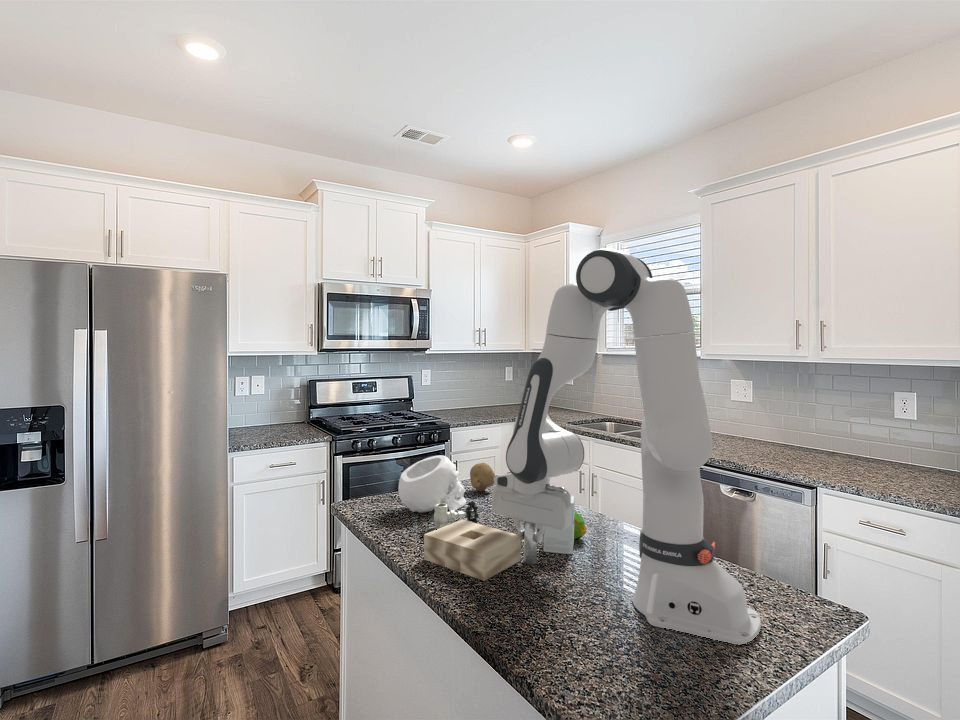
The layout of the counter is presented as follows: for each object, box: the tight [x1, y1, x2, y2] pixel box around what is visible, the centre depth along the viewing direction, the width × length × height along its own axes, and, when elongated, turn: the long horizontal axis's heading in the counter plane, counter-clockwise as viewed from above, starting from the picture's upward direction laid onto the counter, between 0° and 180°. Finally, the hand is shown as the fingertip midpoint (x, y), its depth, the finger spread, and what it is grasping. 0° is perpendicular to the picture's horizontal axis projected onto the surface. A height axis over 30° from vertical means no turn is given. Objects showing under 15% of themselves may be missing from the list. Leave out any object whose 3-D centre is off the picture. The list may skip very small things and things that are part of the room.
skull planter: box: [398, 454, 468, 513], centre depth 162 cm, size 14×20×19 cm
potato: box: [469, 462, 496, 492], centre depth 183 cm, size 9×9×10 cm
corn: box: [574, 510, 588, 540], centre depth 143 cm, size 7×8×20 cm
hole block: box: [423, 519, 522, 582], centre depth 123 cm, size 18×14×6 cm
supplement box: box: [543, 495, 576, 555], centre depth 131 cm, size 7×7×13 cm
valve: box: [433, 500, 479, 530], centre depth 146 cm, size 7×7×12 cm
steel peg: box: [523, 521, 538, 565], centre depth 123 cm, size 3×3×10 cm
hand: (530, 539), depth 123 cm, fingers closed on steel peg, 3 cm apart
